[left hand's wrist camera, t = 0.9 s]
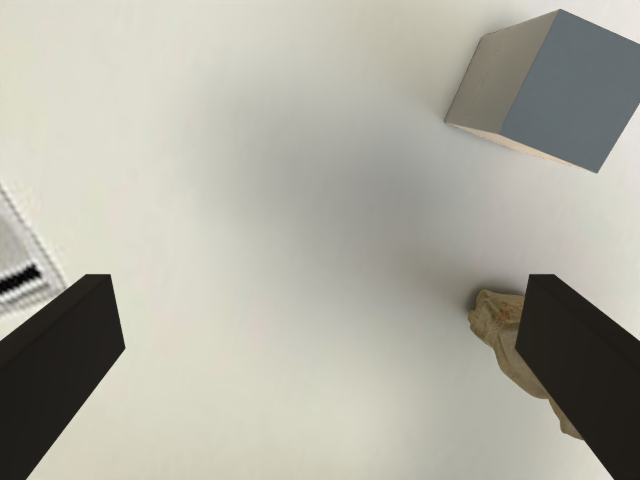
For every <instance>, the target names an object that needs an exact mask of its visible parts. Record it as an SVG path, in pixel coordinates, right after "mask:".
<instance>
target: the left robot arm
mask: <svg viewBox="0 0 640 480" xmlns="http://www.w3.org/2000/svg"><path fill="white" fill-rule="evenodd" d="M124 350H125V344H124V339H123V334H122V329H121V324H120V319H119V314H118V309H117V304H116V299H115V294H114V289H113V284H112V279H111V274H86V275H84V276H83V277H82V278H81V279H79V280H78V281H77V282H75V283H74V284H73V285H72V286H70V287H69V288H68V289H66V290H65V291H64V292H63V293H61V294H60V295H59V296H58V297H56V298H55V299H54V300H52V301H51V302H50V303H49V304H47V305H46V306H45V307H43V308H42V309H41V310H40V311H38V312H37V313H36V314H34V315H33V316H32V317H31V318H29V319H28V320H27V321H25V322H24V323H23V324H22V325H20V326H19V327H18V328H16V329H15V330H14V331H13V332H11V333H10V334H9V335H7V336H6V337H5V338H4V339H2V340H1V341H0V480H26V479H27V478H28V476H29V475H30V474H31V472H32V471H33V470H34V468H35V467H36V466H37V464H38V463H39V462H40V460H41V459H42V458H43V456H44V455H45V454H46V453H47V451H48V450H49V449H50V447H51V446H52V445H53V443H54V442H55V441H56V439H57V438H58V437H59V435H60V434H61V433H62V431H63V430H64V429H65V427H66V426H67V425H68V424H69V422H70V421H71V420H72V418H73V417H74V416H75V414H76V413H77V412H78V410H79V409H80V408H81V406H82V405H83V404H84V402H85V401H86V400H87V398H88V397H89V396H90V395H91V393H92V392H93V391H94V389H95V388H96V387H97V385H98V384H99V383H100V381H101V380H102V379H103V377H104V376H105V375H106V373H107V372H108V371H109V369H110V368H111V367H112V366H113V364H114V363H115V362H116V360H117V359H118V358H119V356H120V355H121V354H122V352H123V351H124ZM515 350H516V351H517V352H518V354H519V355H520V356H521V358H522V359H523V360H524V362H525V363H526V364H527V366H528V367H529V368H530V369H531V371H532V372H533V373H534V375H535V376H536V377H537V379H538V380H539V381H540V383H541V384H542V385H543V387H544V388H545V389H546V391H547V392H548V393H549V395H550V396H551V397H552V398H553V400H554V401H555V402H556V404H557V405H558V406H559V408H560V409H561V410H562V412H563V413H564V414H565V416H566V417H567V418H568V420H569V421H570V422H571V424H572V425H573V426H574V427H575V429H576V430H577V431H578V433H579V434H580V435H581V437H582V438H583V439H584V441H585V442H586V443H587V445H588V446H589V447H590V449H591V450H592V451H593V453H594V454H595V455H596V456H597V458H598V459H599V460H600V462H601V463H602V464H603V466H604V467H605V468H606V470H607V471H608V472H609V474H610V475H611V476H612V478H613V479H614V480H640V341H639V340H638V339H636V338H635V337H634V336H633V335H631V334H630V333H629V332H627V331H626V330H625V329H624V328H622V327H621V326H620V325H618V324H617V323H616V322H615V321H613V320H612V319H611V318H609V317H608V316H607V315H606V314H604V313H603V312H602V311H600V310H599V309H598V308H597V307H595V306H594V305H593V304H591V303H590V302H589V301H588V300H586V299H585V298H584V297H582V296H581V295H580V294H579V293H577V292H576V291H575V290H574V289H572V288H571V287H570V286H568V285H567V284H566V283H565V282H563V281H562V280H561V279H559V278H558V277H557V276H556V275H554V274H529V279H528V284H527V289H526V294H525V299H524V304H523V309H522V314H521V319H520V324H519V329H518V334H517V339H516V344H515Z"/></svg>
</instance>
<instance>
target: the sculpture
mask: <svg viewBox="0 0 640 480" xmlns="http://www.w3.org/2000/svg"><path fill="white" fill-rule="evenodd" d="M524 299H525V296H520V295H512V294H498V293H494V292H491V291H490V290H486V289H483V290H481V291H480V292H479V294H478V296H477V298H476V303H477V307H476V308H473V309H471V311H470V313H469V316H468V320H469V321H470V323H471V325H470V329H471V330H472V331H473V333H474V334H475V335H476V336H477V337H478V338H480V339H481V340H482V341H483V342H484V343H486V344H487V345H489V346H490V347H492V348H493V350H494V351H495V354H496V357H497V361H498V364H499V366H500V369H501V370H502V371H503V373H504V374H506V375H507V376H508V377H509V378H510V379H511V380H512V381H514V382H515V383H516V384H517V385H518V386H520V387H521V388H522V389H523V390H525V391H526V392H527V393H529V394H530V395H532V396H534V397H536V398H540V399H549V402H550V404H551V406H552V408H553V410H554V412H555V414H556V415H557V417H558V418H559V420H560V427H561V431H562V432H563V433H565V434H568V435H570V436H572V437H574V438H577V439H581V440H584V439H583V438H582V437H581V435H580V434H579V433H578V431H577V430H576V429H575V427H574V426H573V425H572V424H571V422H570V421H569V420H568V418H567V417H566V416H565V414H564V413H563V412H562V410H561V409H560V408H559V406H558V405H557V404H556V402H555V401H554V400H553V398H552V397H551V396H550V395H549V393H548V392H547V391H546V389H545V388H544V387H543V385H542V384H541V383H540V381H539V380H538V379H537V377H536V376H535V375H534V373H533V372H532V371H531V369H530V368H529V367H528V366H527V364H526V363H525V362H524V360H523V359H522V358H521V356H520V355H519V354H518V352H517V351H516V350H515V344H516V339H517V334H518V329H519V324H520V319H521V314H522V309H523V304H524Z"/></svg>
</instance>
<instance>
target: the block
mask: <svg viewBox="0 0 640 480" xmlns="http://www.w3.org/2000/svg"><path fill="white" fill-rule="evenodd" d="M639 103H640V44H638V43H636V42H634V41H631V40H629V39H627V38H625V37H622V36H620V35H618V34H616V33H613V32H611V31H609V30H607V29H605V28H602V27H600V26H598V25H596V24H593V23H591V22H589V21H587V20H584V19H582V18H580V17H578V16H575V15H573V14H571V13H569V12H566V11H564V10H562V9H559V10H556V11H553V12H550V13H547V14H545V15H542V16H539V17H536V18H534V19H531V20H528V21H525V22H522V23H520V24H517V25H514V26H511V27H509V28H506V29H503V30H500V31H497V32H495V33H492V34H489V35H486V36H484V37H482V39H481V41H480V43H479V45H478V47H477V50H476V52H475V54H474V56H473V58H472V61H471V63H470V65H469V67H468V70H467V72H466V74H465V76H464V78H463V81H462V83H461V85H460V87H459V90H458V92H457V94H456V96H455V98H454V101H453V103H452V105H451V107H450V109H449V112H448V114H447V116H446V118H445V121H444V123H446V124H449V125H452V126H454V127H457V128H459V129H462V130H464V131H467V132H469V133H472V134H474V135H477V136H480V137H482V138H485V139H487V140H490V141H492V142H495V143H497V144H500V145H502V146H505V147H508V148H510V149H513V150H515V151H519V152H522V153H526V154H529V155H533V156H537V157H540V158H544V159H547V160H551V161H554V162H558V163H561V164H565V165H568V166H572V167H575V168H579V169H583V170H586V171H590V172H593V173H598V171H599V170H600V168H601V166H602V165H603V163H604V162H605V160H606V158H607V157H608V155H609V153H610V152H611V150H612V148H613V147H614V145H615V143H616V142H617V140H618V138H619V137H620V135H621V133H622V132H623V130H624V128H625V127H626V125H627V123H628V122H629V120H630V118H631V117H632V115H633V113H634V112H635V110H636V108H637V107H638V105H639Z"/></svg>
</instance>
